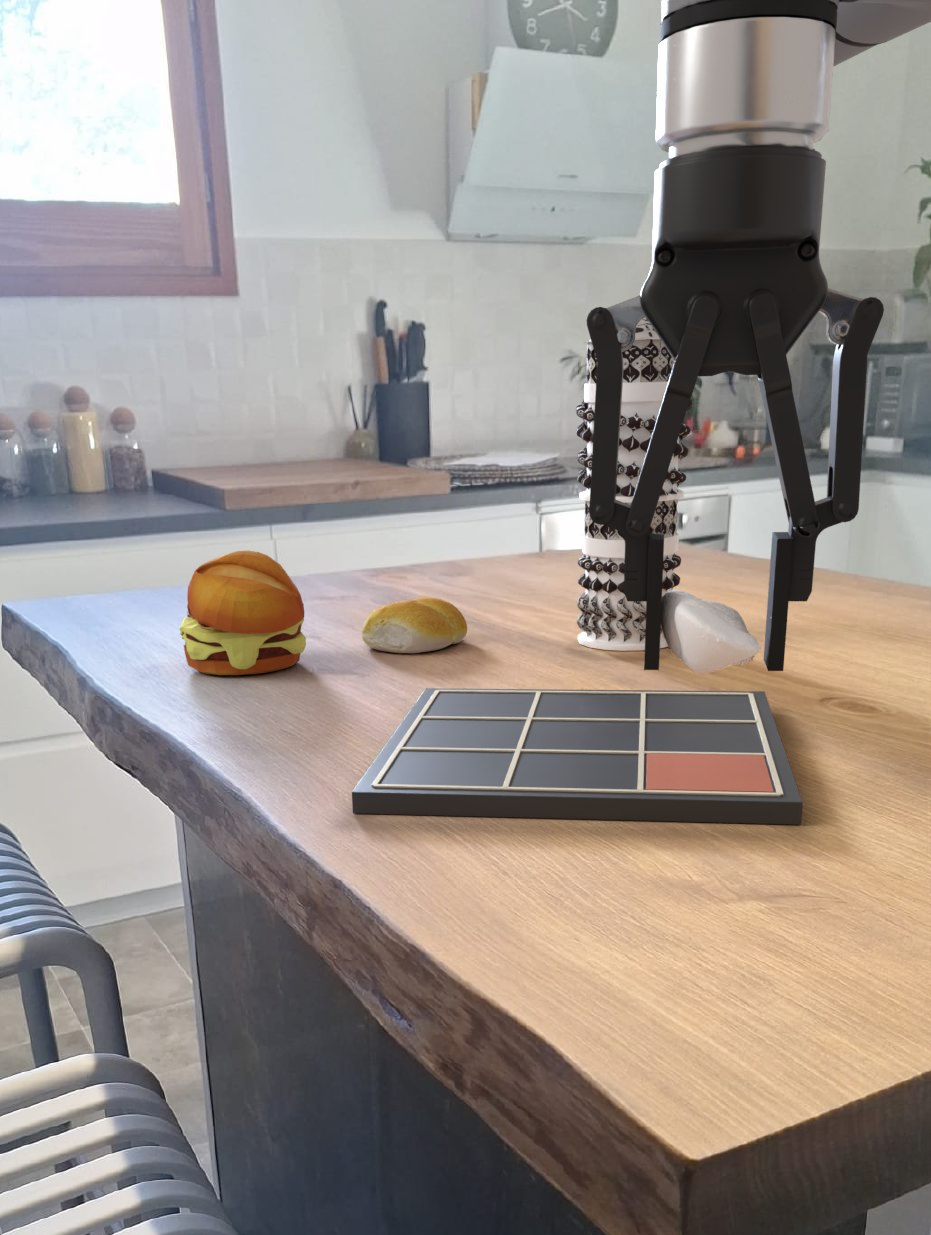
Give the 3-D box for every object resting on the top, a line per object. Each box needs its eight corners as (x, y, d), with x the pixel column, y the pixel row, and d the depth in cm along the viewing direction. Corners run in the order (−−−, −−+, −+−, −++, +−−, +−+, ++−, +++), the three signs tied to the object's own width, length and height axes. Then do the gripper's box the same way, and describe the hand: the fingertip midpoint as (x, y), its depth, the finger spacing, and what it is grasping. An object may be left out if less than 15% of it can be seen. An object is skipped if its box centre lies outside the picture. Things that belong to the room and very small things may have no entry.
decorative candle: (631, 625, 111) (640, 322, 101) (705, 641, 103) (721, 316, 94) (551, 639, 106) (552, 322, 97) (622, 656, 99) (631, 316, 90)
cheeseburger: (283, 644, 106) (285, 532, 101) (327, 699, 99) (332, 580, 93) (167, 656, 102) (163, 539, 97) (203, 714, 95) (201, 591, 89)
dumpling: (638, 663, 67) (652, 589, 66) (730, 678, 67) (745, 605, 67) (671, 668, 60) (687, 585, 59) (774, 685, 61) (791, 603, 60)
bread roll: (480, 637, 108) (479, 591, 106) (431, 658, 101) (430, 608, 99) (398, 630, 112) (397, 586, 110) (346, 650, 104) (343, 602, 103)
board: (763, 708, 83) (764, 689, 82) (800, 825, 62) (803, 800, 61) (426, 704, 86) (425, 686, 86) (352, 813, 65) (351, 790, 65)
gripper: (938, 155, 57) (885, 650, 66) (541, 176, 60) (539, 648, 69) (977, 125, 50) (912, 683, 59) (526, 151, 53) (527, 679, 62)
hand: (712, 663), depth 64 cm, fingers closed on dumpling, 5 cm apart
